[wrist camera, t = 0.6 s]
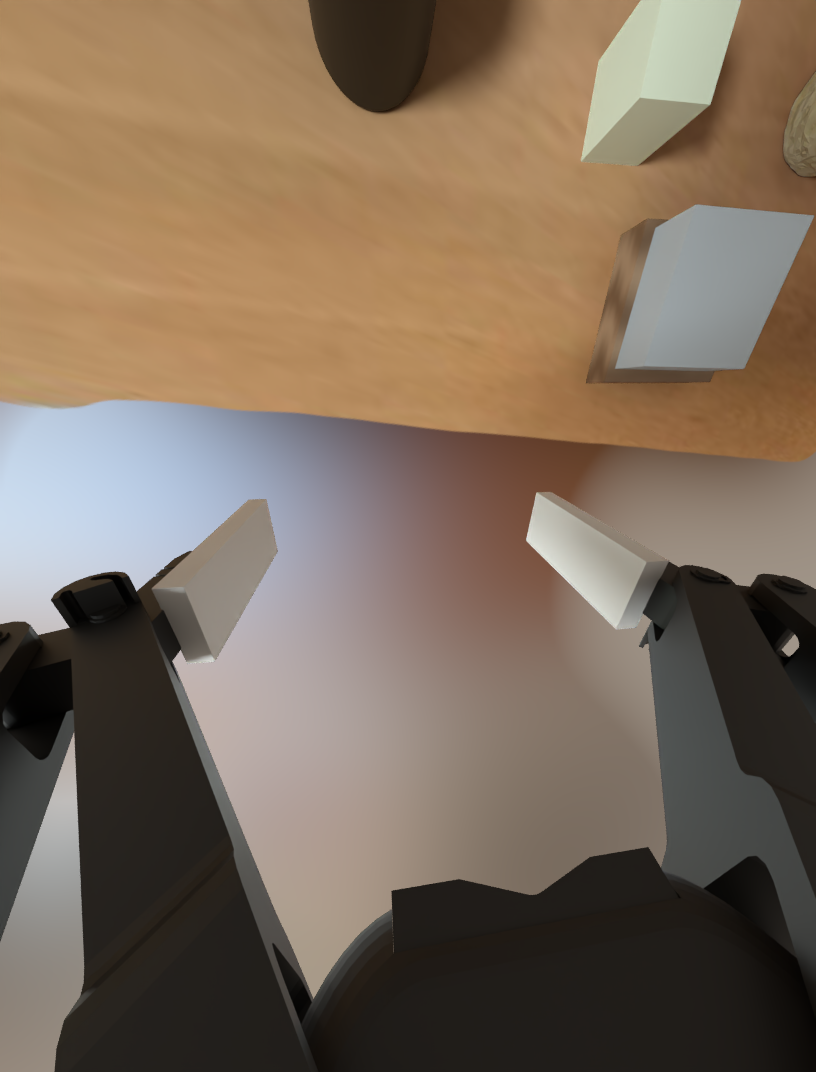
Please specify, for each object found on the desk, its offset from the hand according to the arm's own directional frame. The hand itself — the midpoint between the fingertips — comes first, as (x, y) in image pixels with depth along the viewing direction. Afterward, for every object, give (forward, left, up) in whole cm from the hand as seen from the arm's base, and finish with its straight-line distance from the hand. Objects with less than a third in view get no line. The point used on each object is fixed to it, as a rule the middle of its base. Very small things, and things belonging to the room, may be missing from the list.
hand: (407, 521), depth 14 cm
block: (-28, +23, -26) cm, 45 cm away
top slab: (-14, +33, -23) cm, 42 cm away
